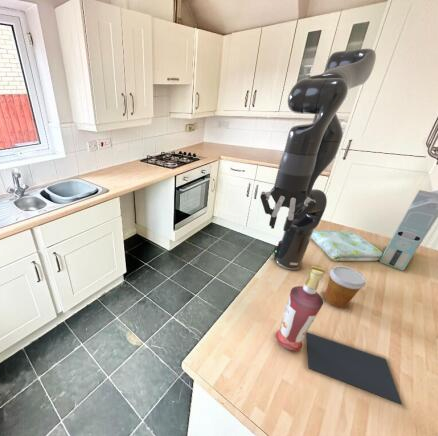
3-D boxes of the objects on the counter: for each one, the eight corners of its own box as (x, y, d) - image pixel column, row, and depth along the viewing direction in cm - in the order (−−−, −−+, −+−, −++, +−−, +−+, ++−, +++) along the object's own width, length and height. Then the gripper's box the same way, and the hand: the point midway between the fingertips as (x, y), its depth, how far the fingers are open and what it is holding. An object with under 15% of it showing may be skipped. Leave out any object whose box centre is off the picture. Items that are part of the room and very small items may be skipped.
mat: (308, 368, 65) (308, 367, 65) (305, 332, 74) (306, 331, 74) (401, 404, 57) (401, 403, 57) (385, 359, 67) (385, 358, 67)
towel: (382, 262, 103) (387, 252, 100) (331, 262, 103) (335, 252, 101) (350, 238, 119) (355, 229, 116) (307, 238, 119) (310, 229, 117)
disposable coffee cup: (348, 295, 87) (362, 269, 81) (355, 315, 79) (371, 288, 74) (317, 287, 91) (328, 262, 85) (321, 306, 83) (333, 279, 77)
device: (387, 247, 112) (421, 186, 97) (410, 255, 107) (450, 191, 92) (378, 262, 103) (414, 197, 88) (403, 271, 98) (445, 204, 83)
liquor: (301, 358, 67) (337, 284, 54) (272, 346, 71) (299, 272, 57) (302, 338, 73) (335, 265, 59) (275, 327, 76) (301, 256, 63)
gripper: (326, 169, 61) (305, 227, 69) (266, 162, 67) (253, 217, 75) (330, 178, 55) (307, 241, 63) (264, 170, 61) (251, 229, 69)
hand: (278, 228), depth 69 cm, fingers closed
